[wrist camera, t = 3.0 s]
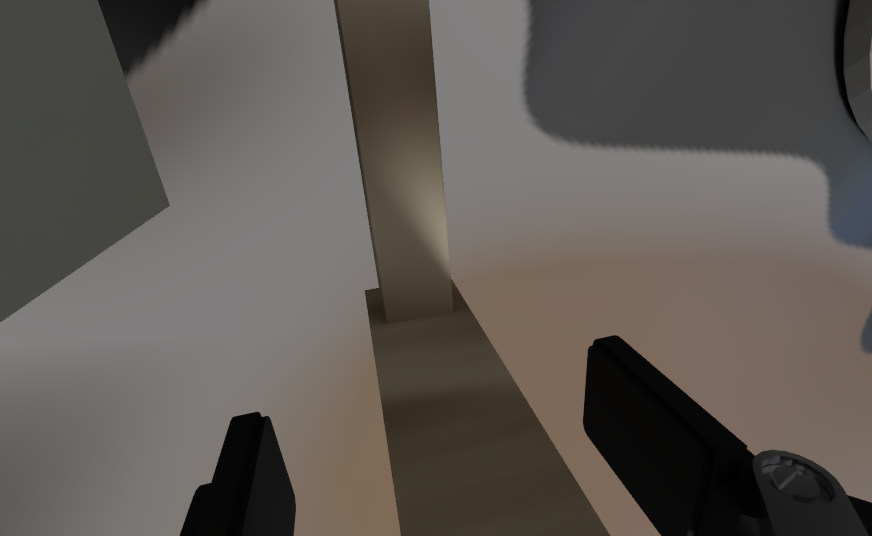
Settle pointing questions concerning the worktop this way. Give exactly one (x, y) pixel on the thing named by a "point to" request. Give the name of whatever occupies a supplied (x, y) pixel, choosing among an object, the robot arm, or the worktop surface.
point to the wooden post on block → (438, 314)
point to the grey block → (65, 147)
